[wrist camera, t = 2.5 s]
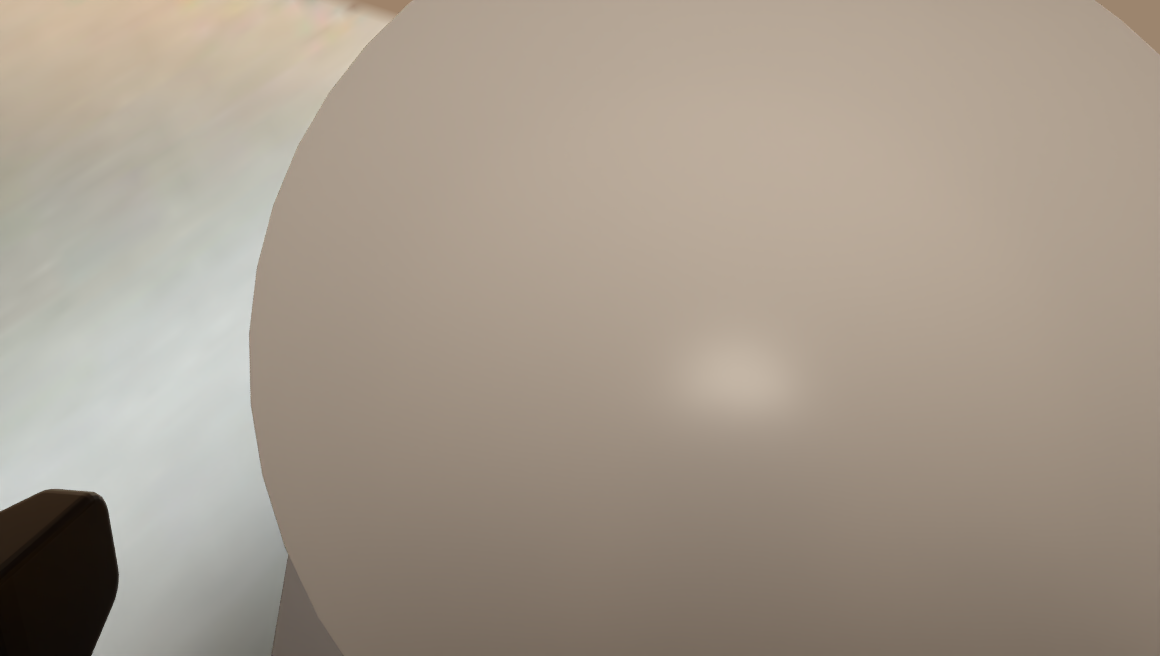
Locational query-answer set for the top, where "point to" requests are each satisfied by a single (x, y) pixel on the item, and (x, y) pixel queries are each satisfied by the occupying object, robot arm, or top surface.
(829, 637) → the fuse cartridge
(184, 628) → the top surface
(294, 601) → the socket block
